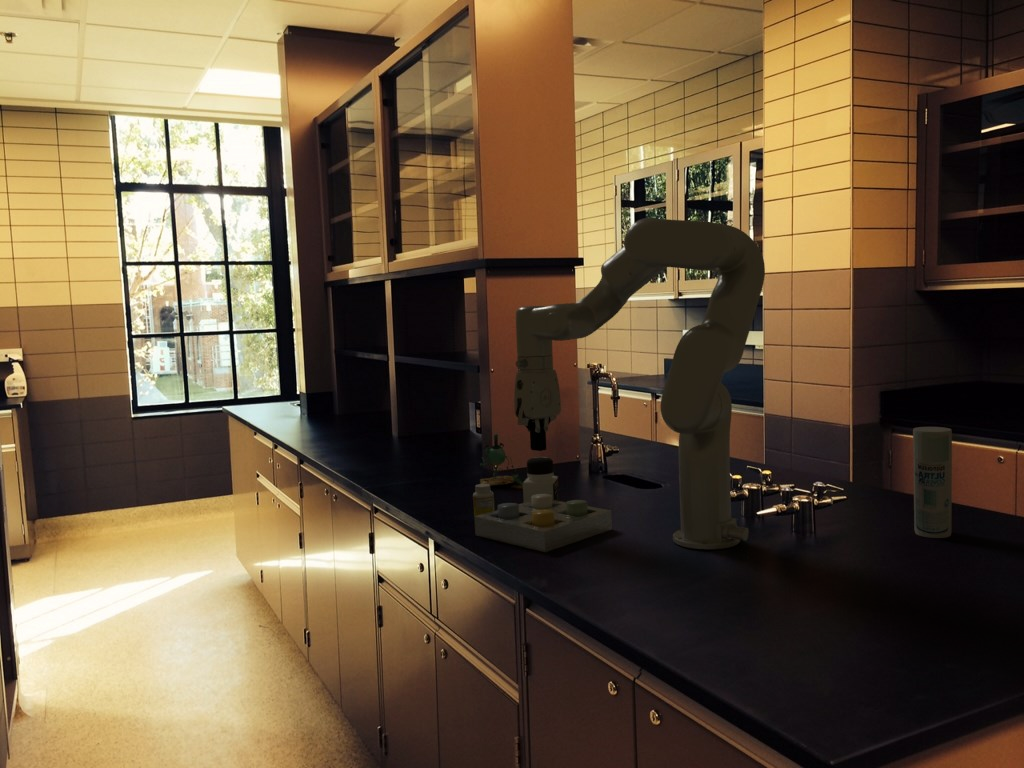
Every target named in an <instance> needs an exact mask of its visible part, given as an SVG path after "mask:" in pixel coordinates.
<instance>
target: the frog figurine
mask: <svg viewBox="0 0 1024 768" xmlns="http://www.w3.org/2000/svg"><path fill="white" fill-rule="evenodd" d="M498 438H499V435H498V433H495V434H494V436H493V444H494V445H492V446H491V448H490V445H489V444H486V445H485V446H484V448H483V449H484V453H485V456H481V459H482V461H483V463H482V462H480V464H479V466H480V467H482V466H483V465H486V464H487V463H488V462H489V463H490V464H492V465H493V470H494V471H493V473H492V475H493V476H492V477H488V478H480V479H479V484H489V485H490V487H491V486H492V487H493V486H500V485H508V484H515V485H511V487H510V488H515V489H519V490H521V489H523V481H522V479H521V477H520V476H519V475H520V474H519V473H517V469H515V470H514V473H513V474H511V476H510V475H500V474H499V471H500V470H502V471H503V472H505V470H504V469H503V468H502V467H501V468H499V466H500V465H503V464H504V463H505V461H506V460H507V461H508V464H507V466H506V470H509V465H510V462H511V468H513V469H514V465H513V461H512V457H511V456H507V454H506V451H505V450H504V448H503V447H505V445H504V444H503V443H502V442H499V441H498V440H499V439H498ZM498 442H499V443H498ZM485 457H487V458H486V459H484V458H485ZM508 458H509V459H508ZM498 468H499V469H498ZM515 482H516V483H515Z"/></svg>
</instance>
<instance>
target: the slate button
mask: <svg viewBox="0 0 1024 768" xmlns="http://www.w3.org/2000/svg"><path fill="white" fill-rule="evenodd" d="M519 504H520V503H519ZM519 504H518V503H516V502H503V503H499V504H497V510H498V518H500V519H505V520H510V519H514V518H517V517H519Z"/></svg>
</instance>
